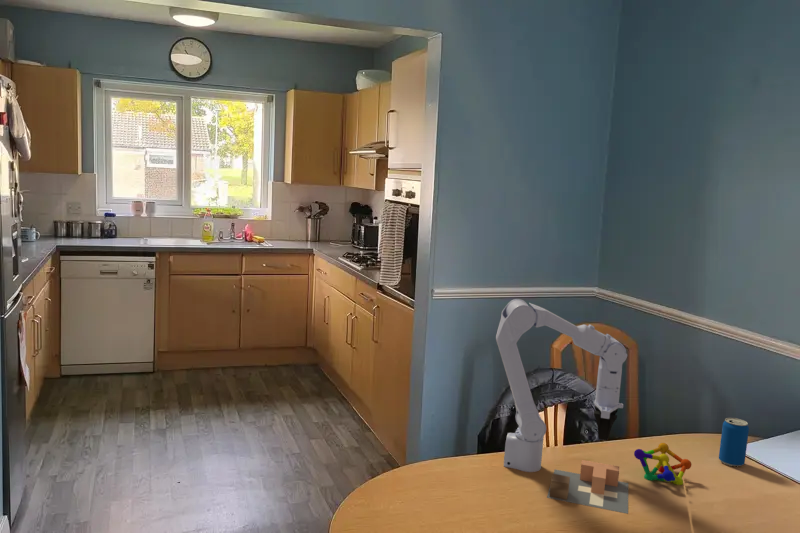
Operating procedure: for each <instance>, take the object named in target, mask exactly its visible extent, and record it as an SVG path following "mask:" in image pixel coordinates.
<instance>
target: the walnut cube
mask: <svg viewBox="0 0 800 533" xmlns="http://www.w3.org/2000/svg"><path fill="white" fill-rule="evenodd" d="M551 475H552V476H551V478H550V485H549V488H550V496H549V497H554V498H559V499H564V500H567V497H568V492H569V482H570V477H568V476H563V475H557V474H554V473H552V474H551Z"/></svg>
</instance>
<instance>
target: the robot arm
mask: <svg viewBox="0 0 800 533" xmlns="http://www.w3.org/2000/svg"><path fill="white" fill-rule="evenodd" d="M528 303H529V304H528ZM528 303H527V302H526V301H525V300H523V299H521V298H514V299H512V300H510V301H509V302H508V303H507V304H506V305H505V307H504V308H503V309H502V311H501V313H500V314H501V317H500V320H499V323H498V328H497V330H496V331H497V332H496V335H495V341H496V344H497V346H498V347H497V348H498V350H499V353H500V354H499V355H500V357H501V361H502V364H503V367H504V370H505V374H506V378H507V380H508V385H509V388H510V390H511V393H512V394H511V395H512V398H513V401H514V407H515V411H516V412H515V417H514V418H515V422H516V424H517V426H518V427H517V429H515V432H507V435H506V437H505V438H506V440H505V444H504V454H503V455H504V456H503V467H505V468H509V469H510V468H511V469H515V470H519V471H522V472H526V473H535V472H538V471H540V470H541V469H542V458H543V448H544V438H545V437H544V436H545V435H546V433H547V425H546V423H545V421H544V420H543V419H542V418H541V416H540V413H539V411H538V409H537V406H536V404H535V401H534V398H533V395H532V392H531V389H530V385H529V381H528V378H527V375H526V371H525V368H524V365H523V362H522V358H521V355H520V351H519V348H518V344H517V343H518V341H519V340H520V339H521V337H522V335H524V334H525V333H526V332H527V331H529V330H530V329H531V328H532V327H533V326H534V327H535V328H540V327H544V326H546V327H548V328H550V329H553V330H554V331H557V332H559V333H561V334H563V335H566V336H568V337H569V338H571V339H572V342H573V345H574V346H577V347H578V348H580V349H582V350H584V351H587V352H589V353H591V354H593V355H594V356H596V357H597V356H599V362H598V366H597V367H598V369H597V378H596V379H597V380H596V388H595V389H596V390H595V399H594V402H593V404H594V405H595V406H594V412H593V415H594V419H595V420H596V425H597V436H598V440H604V441H608V439H609V437H610V433H611V431H612V427H613V425H614V423H615V422H616V420H617V419H618V415H617V413H618V412H619V411H618V409H623V408H624V404H623V403H622V402H621V403H620V393H621V383H622V372H623V364H624V363H625V362H626V360H627V357H628V353H627V349H626V347H625V346H624V344H622V343H621V342H620V341H618V340H617V339H616V338H614V336H612V335H610V334H609V333H606V334H605V333H602V332H601V331H598V329H595V328H596V327H595V326H594V325H592V324H588V325H587V324H581V325H576V324H573V323H572V322H570V321H568V320H566V319H565V318H563V317H561V316H559V315H557V314H555V313H553V312H552V311H549V310H548V309H546V308H544V307H542V306H539V305H537V304H534V303H531V302H528Z"/></svg>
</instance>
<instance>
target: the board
mask: <svg viewBox="0 0 800 533" xmlns="http://www.w3.org/2000/svg"><path fill="white" fill-rule="evenodd" d="M553 474H557V475H563V476H568V477H570V482H569V492H568V497H567V500H564V499H559V498H554V497H549V496H550V487H549V489H548V492H547V497H546V498H547V499H551V500H556V501H561V502H567V503H570V504H571V503H573V504H576V505H583V506H587V507H592V508H598V509H602V510H607V511H612V512H618V513H621V514H622V513H623V514H627V515H628V514H629V482H625V481H620V480H618V487H616V486H611V485H605V489H604V495H603V494H598V493H593V492H591V486H592V482H589V481H584V480H580V473H576V472H572V471H566V470H561V469H554V471H553Z"/></svg>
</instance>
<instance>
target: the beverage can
mask: <svg viewBox="0 0 800 533" xmlns="http://www.w3.org/2000/svg"><path fill="white" fill-rule="evenodd" d="M748 424H749V423H748V422H747V421H746V420H744V419H740V418H737V417H726V418H725V419H724V421H723V422H722V427H721V428H722V429H721V434H720V435H721V437H720V445H719V454H718V460H720V461H721V463H722V464H724V465H725V464H726V465H725V466H728V465H729V466H728V467H732V466H737V467H736V468H739V467H738V466H740V467H741V466H743V465H745V462H746V454H747V449H748V448H747V447H748V442H749V441H748V438H749V431H750V427H749V425H748Z"/></svg>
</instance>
